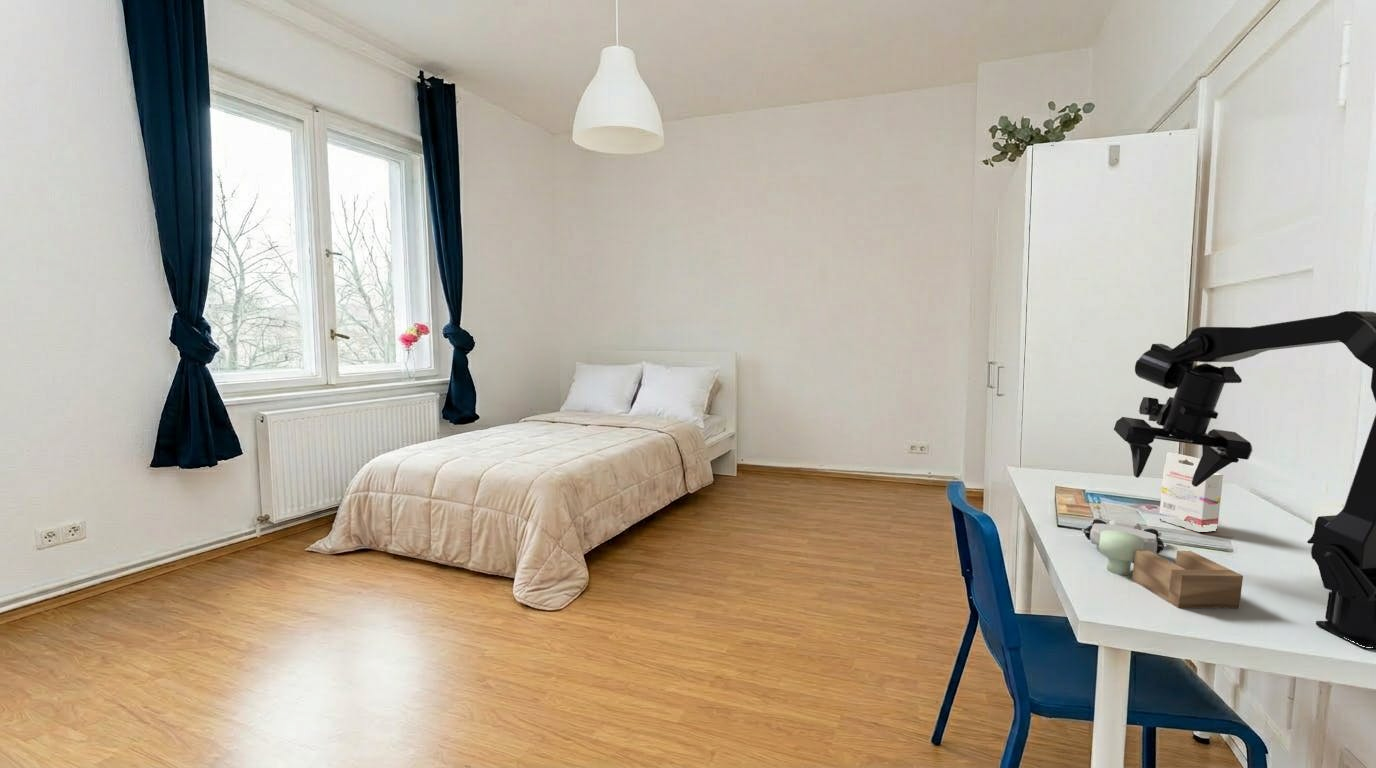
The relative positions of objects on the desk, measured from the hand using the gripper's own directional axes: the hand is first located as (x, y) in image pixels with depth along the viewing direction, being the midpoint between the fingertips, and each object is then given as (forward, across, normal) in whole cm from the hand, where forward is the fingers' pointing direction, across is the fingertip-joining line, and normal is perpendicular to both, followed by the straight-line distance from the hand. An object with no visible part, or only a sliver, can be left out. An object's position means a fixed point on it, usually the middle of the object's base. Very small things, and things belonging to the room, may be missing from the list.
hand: (1164, 480), depth 112 cm
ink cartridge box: (+16, -15, -16) cm, 27 cm away
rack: (+10, +3, +20) cm, 23 cm away
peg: (+12, +9, +14) cm, 20 cm away
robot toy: (+14, +3, +1) cm, 15 cm away
